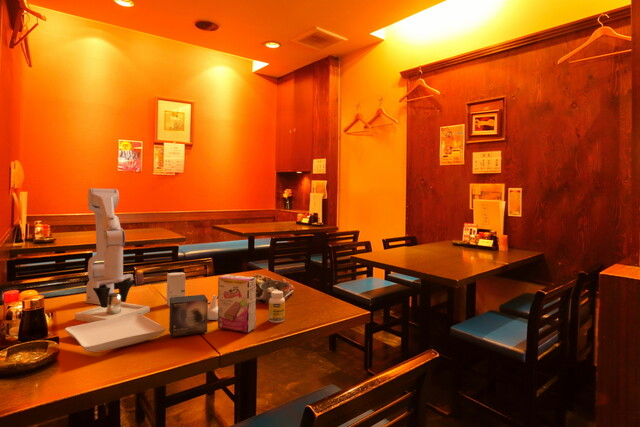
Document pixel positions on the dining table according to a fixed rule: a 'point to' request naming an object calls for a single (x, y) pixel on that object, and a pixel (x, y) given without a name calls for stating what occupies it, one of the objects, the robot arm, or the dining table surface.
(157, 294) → the dining table surface
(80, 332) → the salad plate
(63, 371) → the dining table surface
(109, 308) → the cylinder
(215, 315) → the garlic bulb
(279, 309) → the supplement bottle
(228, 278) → the candy bar box
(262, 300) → the food tray
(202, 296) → the small box
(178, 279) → the skincare box
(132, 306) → the tray
